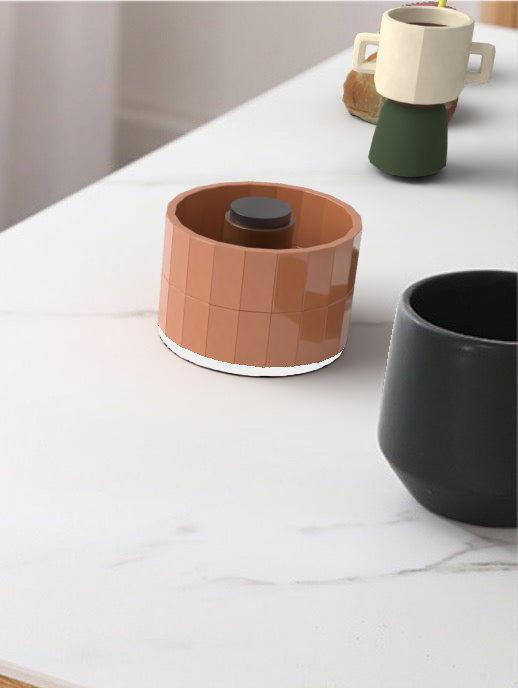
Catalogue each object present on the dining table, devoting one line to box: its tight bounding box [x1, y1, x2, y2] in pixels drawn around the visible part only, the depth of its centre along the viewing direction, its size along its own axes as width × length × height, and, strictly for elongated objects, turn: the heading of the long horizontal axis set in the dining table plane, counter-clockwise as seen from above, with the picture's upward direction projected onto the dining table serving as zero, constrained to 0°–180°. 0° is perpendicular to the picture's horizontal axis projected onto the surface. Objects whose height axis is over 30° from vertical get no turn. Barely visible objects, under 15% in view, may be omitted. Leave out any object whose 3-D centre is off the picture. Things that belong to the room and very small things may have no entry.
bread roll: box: [341, 51, 459, 126], centre depth 143 cm, size 10×10×8 cm
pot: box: [157, 180, 363, 368], centre depth 102 cm, size 12×12×8 cm
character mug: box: [351, 5, 496, 178], centre depth 128 cm, size 11×7×13 cm, turn 69°
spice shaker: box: [222, 197, 295, 250], centre depth 102 cm, size 4×4×8 cm
